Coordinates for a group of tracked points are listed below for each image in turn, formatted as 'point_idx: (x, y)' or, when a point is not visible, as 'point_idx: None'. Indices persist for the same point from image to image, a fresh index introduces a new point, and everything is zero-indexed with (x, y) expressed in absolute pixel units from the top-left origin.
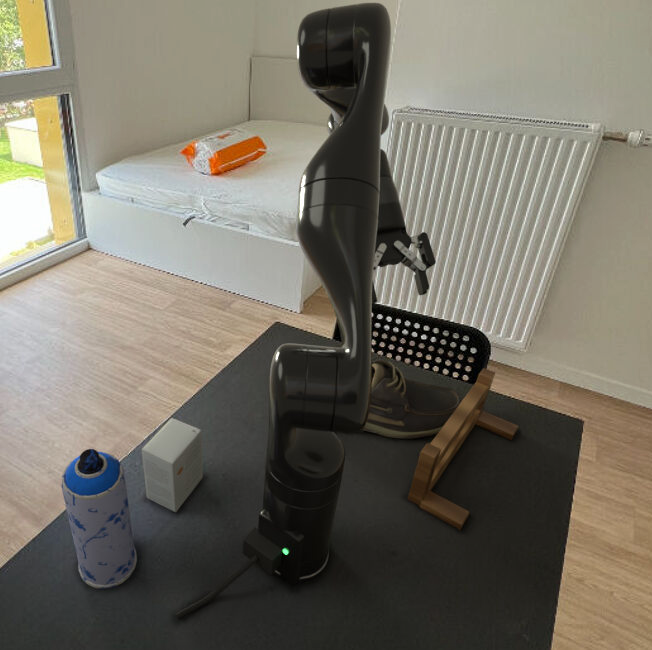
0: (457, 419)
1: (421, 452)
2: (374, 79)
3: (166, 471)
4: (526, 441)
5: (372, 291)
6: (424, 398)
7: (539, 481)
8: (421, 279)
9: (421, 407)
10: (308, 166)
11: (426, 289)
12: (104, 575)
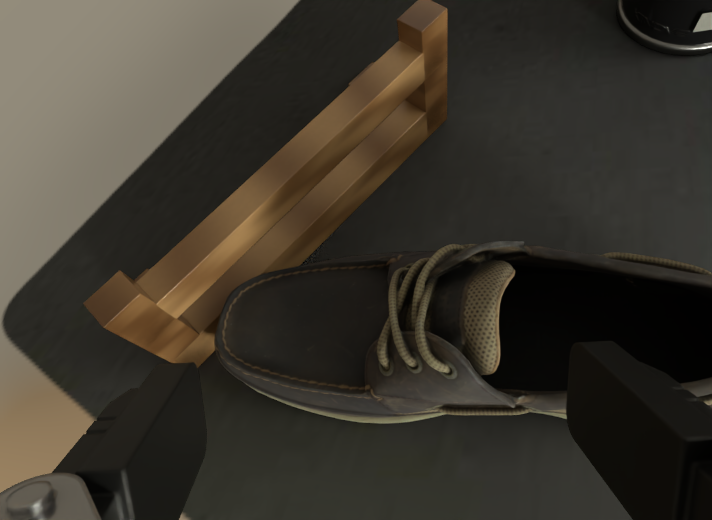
0: (299, 147)
1: (445, 9)
2: None
3: None
4: (125, 272)
5: (642, 372)
6: (324, 313)
7: (177, 172)
8: (144, 416)
9: (347, 281)
10: None
11: (156, 370)
12: None
